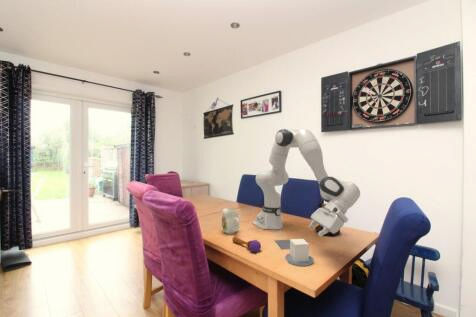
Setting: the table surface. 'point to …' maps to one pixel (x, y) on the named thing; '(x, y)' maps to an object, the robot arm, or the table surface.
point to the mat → (283, 244)
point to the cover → (299, 250)
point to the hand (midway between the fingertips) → (314, 232)
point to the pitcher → (230, 221)
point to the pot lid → (305, 263)
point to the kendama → (249, 244)
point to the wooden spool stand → (319, 227)
